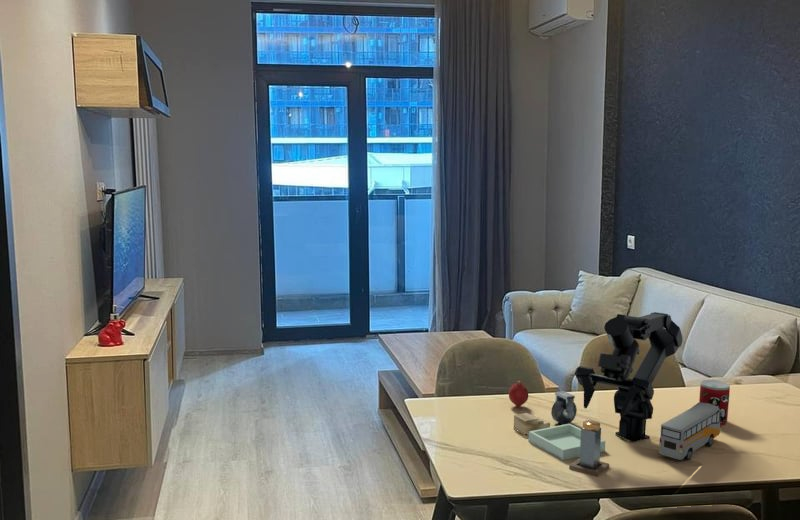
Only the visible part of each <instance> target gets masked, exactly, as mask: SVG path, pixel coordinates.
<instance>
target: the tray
mask: <svg viewBox="0 0 800 520" xmlns="http://www.w3.org/2000/svg"><path fill="white" fill-rule="evenodd" d="M580 442H581V428H580V427H578V426H576V425H574V424H572V423H569V424H565V425H563V424H561V425H556V426H555V425H554V426H550V427H549V428H544V429H539V430H534V431H529V434H528V443H531V444H533V445H534V446H536V447H537V448H540V449H542V450H543V451H545V452H547V453H549V454H551V455H552V456H554V457H556V458H558V459H559V460H561V461H566V460H571V459H575V458H580ZM605 451H606V440H604V439H603V438H601V443H600V453H602V452H605Z"/></svg>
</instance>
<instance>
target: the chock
mask: <svg viewBox="0 0 800 520" xmlns="http://www.w3.org/2000/svg"><path fill="white" fill-rule="evenodd" d="M549 427H551V422H550V421H547V420H546V419H544V418H542V417H540V416H535V415H533V414H530V413H528V412H524V413H519V414H514V415H513V430H514V429H516V430H518V431H519V432H518V431H517V432H518V433H520V432H521V433H520V434H522V433H523V434H522V435H524V434H528V435H529V431H534V430H539V429H544V428H549ZM516 430H515V431H516Z"/></svg>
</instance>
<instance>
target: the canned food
mask: <svg viewBox="0 0 800 520" xmlns="http://www.w3.org/2000/svg"><path fill="white" fill-rule="evenodd" d="M699 386H700V387H699V401H698V403H699V402H700V403H709V404H712V405H714V406H717V407H719V409H720V410H722V409H724V410H725V415H724V417H722V411H720V426H723V425H726V423H728V419H729V417H728V415H729V403H730V390H731V388H730V387H731V386H730V384H729V383H727V382H725V381H722V380H718V379H717V380H715V379H704V380H702V381H700V385H699Z"/></svg>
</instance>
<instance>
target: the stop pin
mask: <svg viewBox="0 0 800 520" xmlns="http://www.w3.org/2000/svg"><path fill="white" fill-rule="evenodd" d="M580 429H581V442H580V457H579V458H580V462H579V466H581V467H585V468H588V469H592V470H596V469H597V468H598V467H599V462H600V461H601V452H600V443H601V439H602V438H601V437H602V427H601V423H600V422H599V421H597V420H591V419H590V420H583V421H582V427H581V428H580Z"/></svg>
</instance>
